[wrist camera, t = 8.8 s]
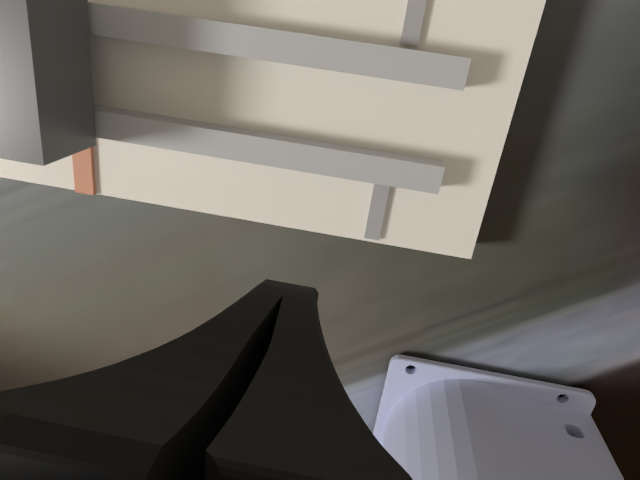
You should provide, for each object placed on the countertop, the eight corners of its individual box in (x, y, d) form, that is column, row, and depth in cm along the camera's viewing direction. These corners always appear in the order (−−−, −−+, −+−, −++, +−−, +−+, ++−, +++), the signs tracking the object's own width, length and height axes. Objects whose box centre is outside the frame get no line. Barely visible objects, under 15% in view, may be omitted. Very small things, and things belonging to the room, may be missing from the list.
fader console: (539, -21, 16) (563, -29, 14) (465, 244, 21) (474, 270, 18) (-63, -102, 18) (-128, -121, 16) (-20, 160, 22) (-67, 175, 20)
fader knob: (103, -3, 17) (21, -12, 13) (110, 139, 19) (40, 167, 15) (-5, -19, 17) (-116, -32, 13) (14, 123, 19) (-79, 146, 15)
